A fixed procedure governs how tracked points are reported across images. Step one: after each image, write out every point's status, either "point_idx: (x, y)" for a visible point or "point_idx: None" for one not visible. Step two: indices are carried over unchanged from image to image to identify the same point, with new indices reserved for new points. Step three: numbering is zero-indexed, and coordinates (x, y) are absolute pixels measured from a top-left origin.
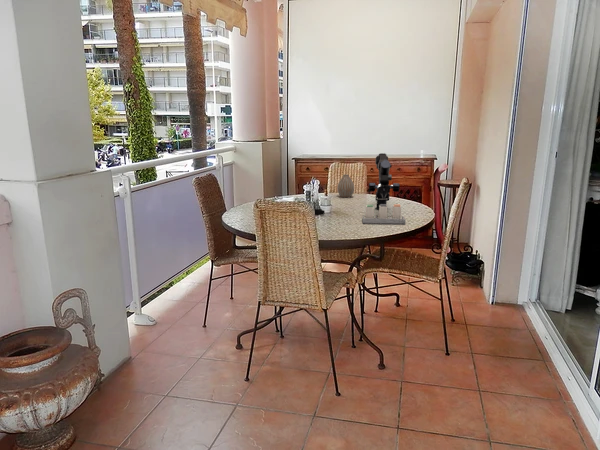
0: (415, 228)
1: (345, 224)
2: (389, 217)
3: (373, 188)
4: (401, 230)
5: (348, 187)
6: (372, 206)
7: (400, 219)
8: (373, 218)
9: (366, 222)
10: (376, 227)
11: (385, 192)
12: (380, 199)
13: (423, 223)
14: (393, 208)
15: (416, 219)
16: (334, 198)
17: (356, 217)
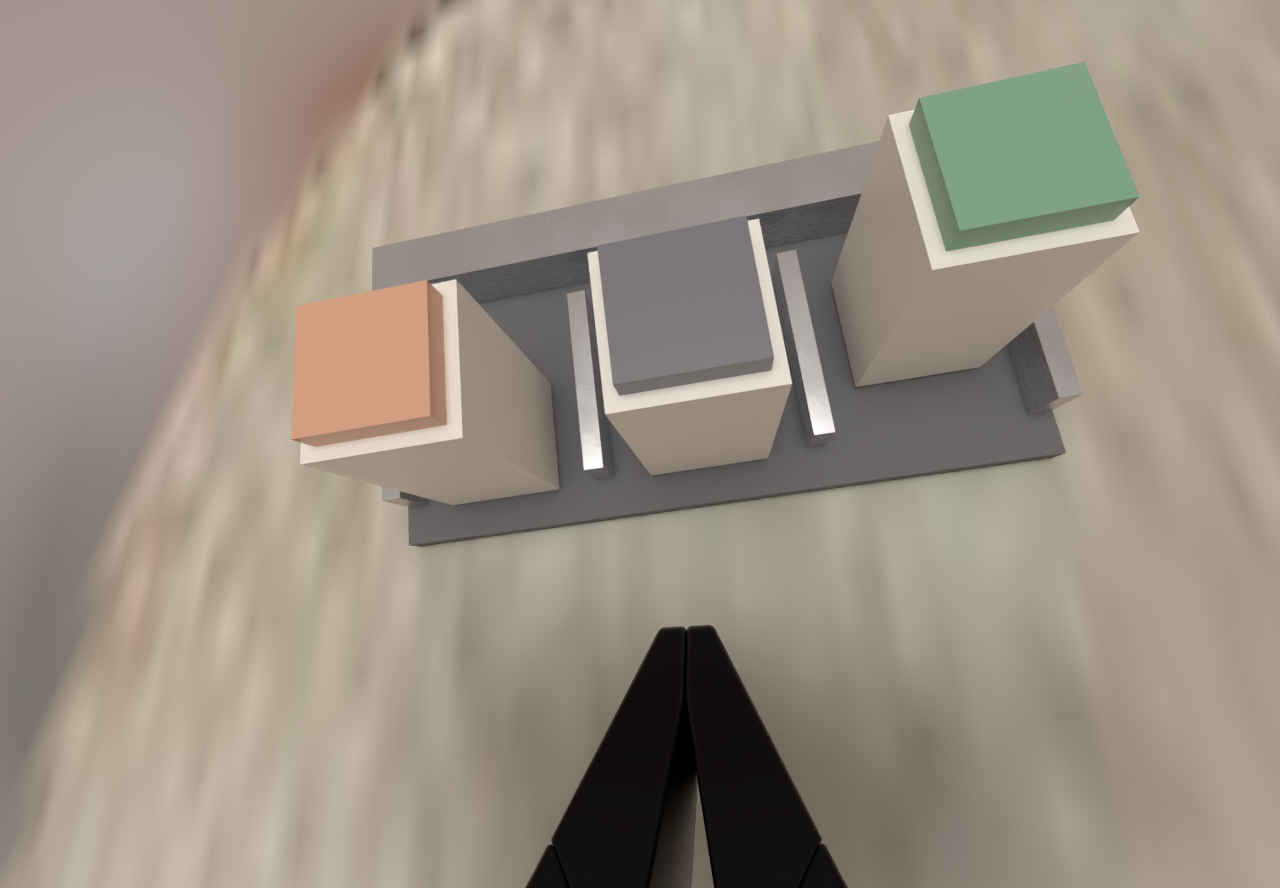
0: (327, 162)
1: (1214, 90)
2: (592, 362)
3: None
4: (474, 46)
5: None
6: (932, 105)
7: (438, 235)
8: (829, 175)
9: None
10: (749, 75)
11: (585, 884)
12: None
13: (200, 409)
14: (474, 315)
15: (235, 628)
16: None
17: (1212, 596)
